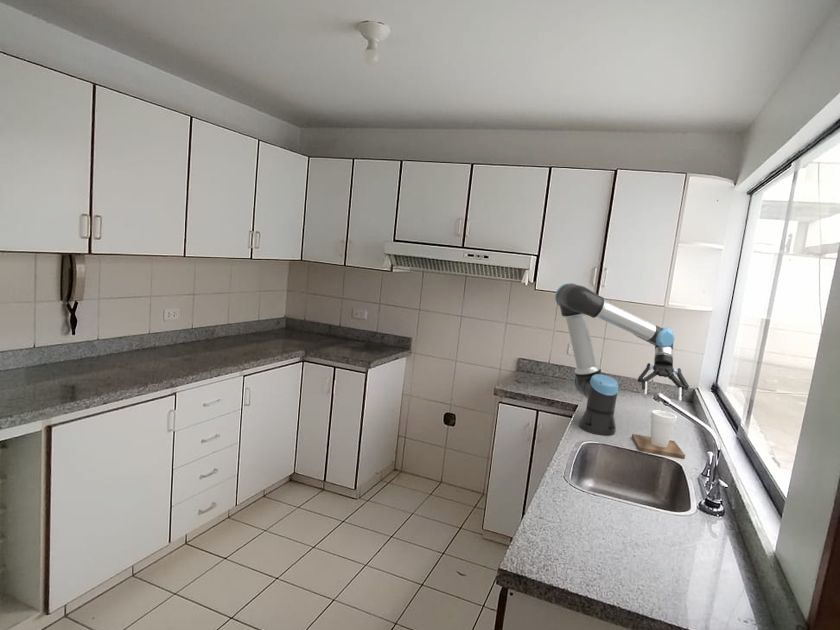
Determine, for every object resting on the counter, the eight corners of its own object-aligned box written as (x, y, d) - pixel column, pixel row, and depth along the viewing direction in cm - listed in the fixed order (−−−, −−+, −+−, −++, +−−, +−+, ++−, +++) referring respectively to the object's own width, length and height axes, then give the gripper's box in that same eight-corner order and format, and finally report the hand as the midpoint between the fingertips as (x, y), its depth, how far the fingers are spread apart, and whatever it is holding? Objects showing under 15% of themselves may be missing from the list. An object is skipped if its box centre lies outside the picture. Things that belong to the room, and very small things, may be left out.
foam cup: (673, 450, 206) (679, 419, 204) (649, 446, 208) (654, 415, 206) (667, 442, 215) (673, 412, 214) (644, 438, 217) (649, 408, 215)
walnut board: (639, 450, 206) (639, 447, 206) (631, 437, 221) (632, 433, 221) (684, 458, 203) (685, 455, 202) (673, 444, 218) (674, 441, 218)
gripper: (691, 367, 231) (692, 409, 219) (632, 358, 238) (629, 397, 226) (696, 358, 225) (696, 400, 213) (635, 349, 232) (632, 388, 220)
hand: (662, 398), depth 219 cm, fingers open, 13 cm apart
